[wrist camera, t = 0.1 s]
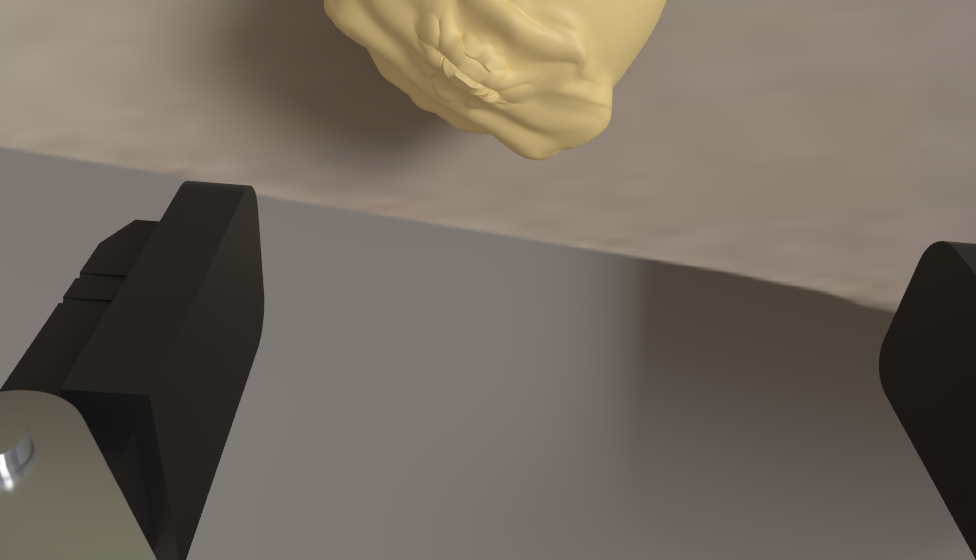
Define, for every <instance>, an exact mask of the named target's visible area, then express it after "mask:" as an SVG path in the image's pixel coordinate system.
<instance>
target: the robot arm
mask: <svg viewBox="0 0 976 560" xmlns="http://www.w3.org/2000/svg"><path fill="white" fill-rule="evenodd" d="M257 206H258V205H257V198H256V193H255V190H254V188H253V187H252V186H248V185H235V184H222V183H210V182H197V181H185V182H184V183H183V184H182V185H181V187H180V188H179V190H178V192H177V193H176V195H175V197H174V199H173V200H172V202H171V203H170V205H169V207H168V208H167V210H166V212H165V213H164V215H163V217H162V219H161V220H160V222H157V221H145V220H134V221H133V222H131V223H130V224H128V225H127V226H125V227H124V228H122V229H120V230H119V231H117V232H116V233H115V234H113V235H111V236H110V237H108V238H107V239H105V240H104V241H102V242H101V243H99V245H98V246H97V248H96V249H95V251H94V252H93V254H92V255H91V257H90V258H89V260H88V261H87V263H86V264H85V266H84V267H83V269H82V270H81V271H80V278H76V279H75V280H74V282H73V283H72V285H71V286H70V288H69V289H68V291H67V292H66V294H65V295H64V296H63V299H64V300H63V303H59V304H58V305H57V307H56V308H55V310H54V311H53V313H52V314H51V316H50V317H49V319H48V320H47V322H46V323H45V325H44V326H43V327H42V329H41V330H40V332H39V333H38V335H37V336H36V338H35V339H34V341H33V342H32V344H31V345H30V347H29V348H28V350H27V351H26V353H25V354H24V355H23V357H22V358H21V360H20V361H19V363H18V364H17V366H16V367H15V369H14V370H13V372H12V373H11V375H10V376H9V377H8V379H7V381H6V382H5V383H4V385H3V386H2V388H1V389H0V560H186V558H187V555H188V552H189V549H190V546H191V543H192V540H193V538H194V535H195V532H196V529H197V526H198V523H199V520H200V517H201V514H202V511H203V508H204V505H205V502H206V499H207V496H208V493H209V491H210V487H211V485H212V482H213V479H214V476H215V473H216V470H217V467H218V464H219V461H220V458H221V455H222V452H223V449H224V446H225V443H226V441H227V437H228V435H229V432H230V429H231V426H232V422H233V420H234V417H235V414H236V411H237V408H238V405H239V402H240V399H241V396H242V393H243V391H244V388H245V385H246V382H247V379H248V376H249V373H250V370H251V367H252V364H253V361H254V358H255V355H256V352H257V350H258V346H259V342H260V338H261V333H262V326H263V317H264V287H263V273H262V259H261V245H260V232H259V218H258V207H257ZM879 374H880V380H881V384H882V388H883V390H884V392H885V394H886V396H887V398H888V400H889V401H890V404H891V405H892V407H893V409H894V411H895V413H896V415H897V416H898V418H899V420H900V422H901V424H902V426H903V427H904V429H905V431H906V433H907V434H908V436H909V438H910V440H911V442H912V444H913V446H914V447H915V449H916V451H917V453H918V455H919V456H920V458H921V460H922V462H923V464H924V466H925V467H926V469H927V471H928V473H929V475H930V477H931V479H932V480H933V482H934V484H935V486H936V487H937V489H938V491H939V493H940V495H941V497H942V499H943V500H944V502H945V504H946V506H947V508H948V510H949V511H950V513H951V515H952V517H953V519H954V521H955V522H956V524H957V526H958V528H959V530H960V532H961V533H962V535H963V537H964V539H965V541H966V542H967V544H968V546H969V548H970V550H971V551H972V553H973V555H974V557H975V559H976V244H972V243H959V242H946V241H939V242H936V243H933V244H932V245H930V246H929V247H928V248H927V249H926V251H925V252H924V253H923V255H922V257H921V259H920V261H919V263H918V265H917V267H916V269H915V272H914V274H913V276H912V278H911V280H910V283H909V285H908V287H907V289H906V292H905V294H904V296H903V298H902V300H901V303H900V305H899V307H898V309H897V312H896V314H895V316H894V318H893V320H892V323H891V325H890V327H889V329H888V332H887V334H886V336H885V338H884V341H883V343H882V347H881V351H880V357H879Z"/></svg>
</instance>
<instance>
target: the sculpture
mask: <svg viewBox="0 0 976 560" xmlns="http://www.w3.org/2000/svg"><path fill="white" fill-rule="evenodd" d="M665 3H666V0H324V10H325V12H326V14H327V16H328V17H329V18H330V19H331V20H332V21H333V23H334V24H335V25H336V26H337V27H338V29H340V30H341V31H342V32H343V33H344V34H345V35H347V36H348V37H349V38H351V39H352V40H354V41H355V42H357V43H359V44H360V45H362V46H363V47H365V48H367V49H368V51H369V53H370V55H371V57H372V59H373V61H374V63H375V65H376V67H377V68H378V70H379V72H380V73H381V74H382V76H383V77H384V78H385V79H386V80H388V81H389V82H390V83H392V84H393V85H395V86H396V87H398V88H399V89H401V90H402V91H403V92H405V93H406V94H408V96H409V97H410V98H411V100H412V101H413V102H414V103H415V104H416V105H417V106H418V107H420V108H421V109H423V110H425V111H428V112H432V113H435V114H437V115H438V116H439V117H441V118H443V119H444V120H446V121H447V122H449V123H450V124H451V125H453V126H454V127H456V128H458V129H460V130H462V131H466V132H472V133H481V134H490V135H493V136H494V137H495V138H496V139H498V140H499V141H500V142H501V143H503V144H504V145H505V146H506V147H508V148H509V149H510V150H512V151H513V152H515V153H516V154H518V155H520V156H522V157H524V158H527V159H532V160H544V159H548V158H551V157H553V156H554V155H556V154H557V153H558V152H559V151H561V150H567V149H572V148H575V147H577V146H580V145H582V144H584V143H586V142H588V141H590V140H592V139H593V138H595V137H596V136H598V135H599V134H600V133H601V132H602V131H603V130H604V129H605V128H606V127H607V125H608V123H609V121H610V118H611V107H612V93H613V90H612V89H613V87H614V86H615V85H616V84H617V82H618V81H619V80H620V79H621V77H622V76H623V75H624V73H625V72H626V70H627V69H628V68H629V66H630V65H631V63H632V62H633V60H634V59H635V57H636V56H637V55H638V53H639V52H640V50H641V49H642V47H643V46H644V44H645V43H646V41H647V40H648V38H649V36H650V35H651V33H652V31H653V29H654V28H655V26H656V24H657V22H658V20H659V17H660V15H661V13H662V11H663V8H664V5H665Z"/></svg>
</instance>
